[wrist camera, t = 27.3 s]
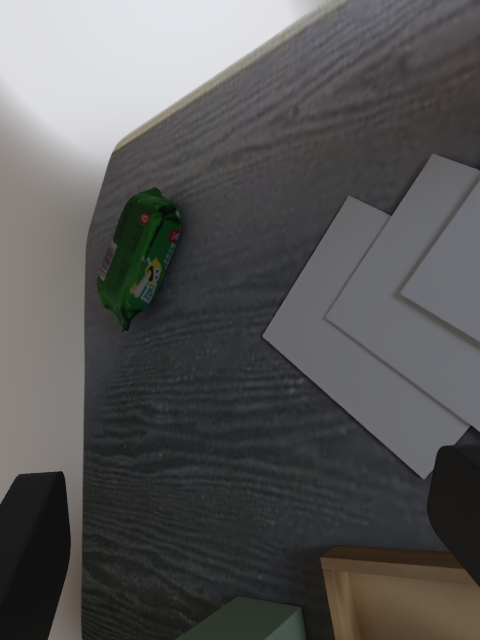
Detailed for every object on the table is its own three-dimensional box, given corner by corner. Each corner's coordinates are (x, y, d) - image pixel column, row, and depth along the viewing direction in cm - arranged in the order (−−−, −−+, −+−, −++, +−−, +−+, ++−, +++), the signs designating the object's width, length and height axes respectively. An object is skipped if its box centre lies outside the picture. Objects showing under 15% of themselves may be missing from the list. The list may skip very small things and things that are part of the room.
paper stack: (556, 597, 22) (557, 603, 21) (262, 336, 36) (258, 335, 35) (985, 212, 15) (1001, 206, 15) (420, 78, 29) (418, 72, 29)
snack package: (118, 308, 51) (80, 303, 47) (164, 191, 47) (127, 174, 43) (147, 335, 47) (108, 332, 42) (200, 209, 43) (163, 193, 39)
